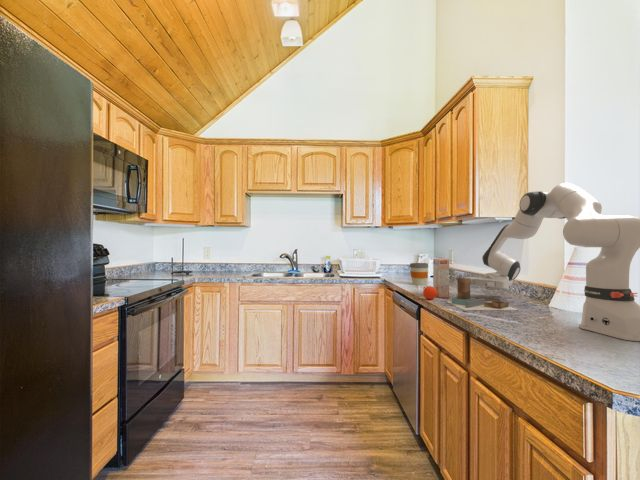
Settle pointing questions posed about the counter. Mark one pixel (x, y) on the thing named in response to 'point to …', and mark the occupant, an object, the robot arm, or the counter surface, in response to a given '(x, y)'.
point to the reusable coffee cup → (419, 273)
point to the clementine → (429, 292)
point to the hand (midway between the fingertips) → (477, 283)
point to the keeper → (496, 304)
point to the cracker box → (441, 277)
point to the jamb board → (478, 305)
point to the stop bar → (463, 288)
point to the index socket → (460, 300)
